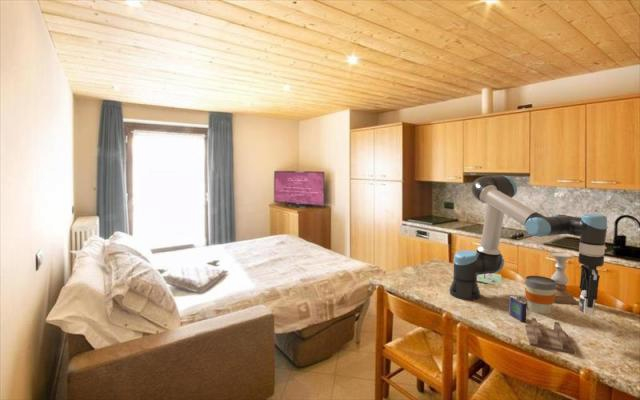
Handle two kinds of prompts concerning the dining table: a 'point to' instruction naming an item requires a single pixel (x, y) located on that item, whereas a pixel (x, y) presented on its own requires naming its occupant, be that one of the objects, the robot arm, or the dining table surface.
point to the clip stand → (549, 337)
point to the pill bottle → (583, 301)
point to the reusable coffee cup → (540, 293)
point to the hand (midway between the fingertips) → (586, 311)
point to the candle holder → (561, 278)
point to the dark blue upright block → (517, 308)
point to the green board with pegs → (489, 278)
